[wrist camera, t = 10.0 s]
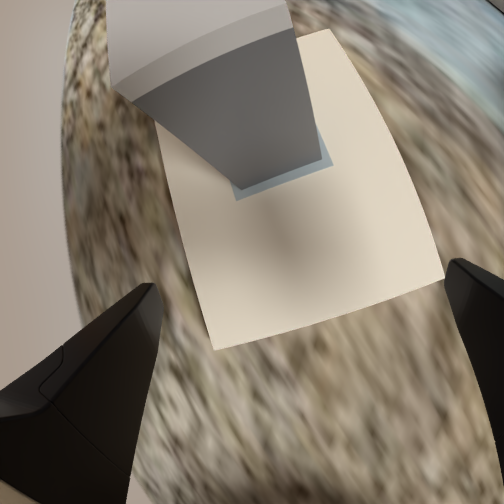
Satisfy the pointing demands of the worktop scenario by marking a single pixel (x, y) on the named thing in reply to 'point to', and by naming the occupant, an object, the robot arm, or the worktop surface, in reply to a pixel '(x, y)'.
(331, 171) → the board
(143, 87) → the plug block
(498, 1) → the electrical switch
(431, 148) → the worktop surface
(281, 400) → the worktop surface
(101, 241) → the worktop surface
